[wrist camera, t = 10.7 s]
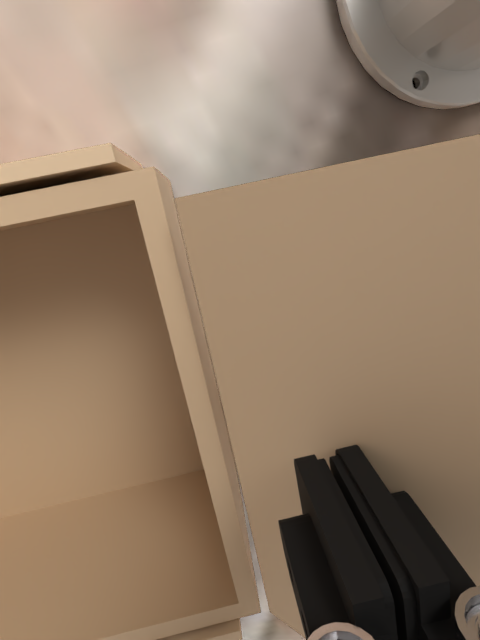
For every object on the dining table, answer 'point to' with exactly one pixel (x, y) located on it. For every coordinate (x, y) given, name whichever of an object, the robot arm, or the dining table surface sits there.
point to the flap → (348, 334)
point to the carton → (110, 415)
